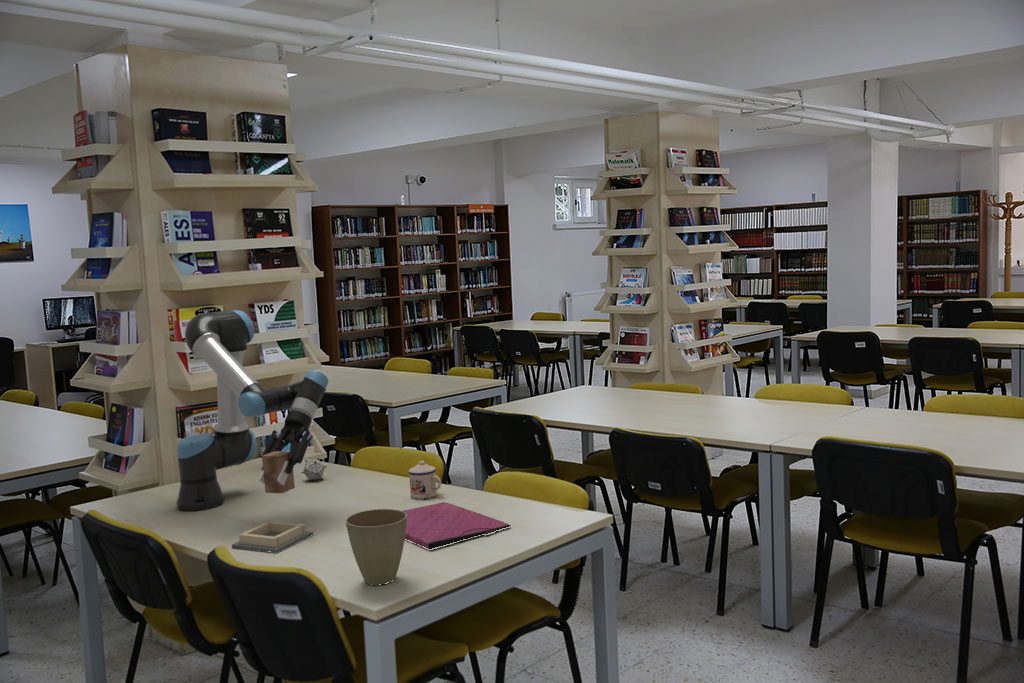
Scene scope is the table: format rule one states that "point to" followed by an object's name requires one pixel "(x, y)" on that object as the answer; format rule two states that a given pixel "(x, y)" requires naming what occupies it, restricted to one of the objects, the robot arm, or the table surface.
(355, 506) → the table surface
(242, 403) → the robot arm
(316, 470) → the game die
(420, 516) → the laptop bag
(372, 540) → the plant pot
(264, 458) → the walnut block
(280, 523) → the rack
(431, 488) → the teacup with lid
